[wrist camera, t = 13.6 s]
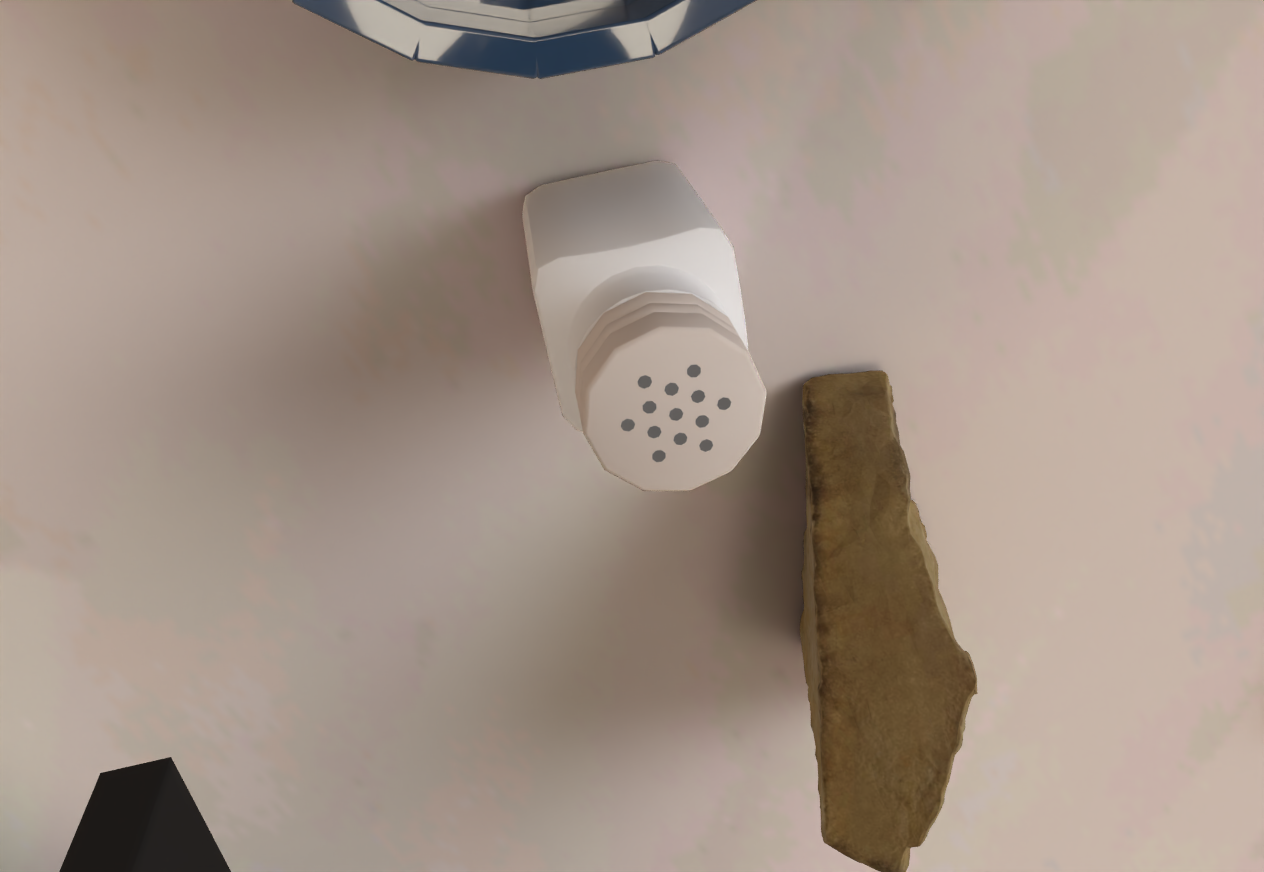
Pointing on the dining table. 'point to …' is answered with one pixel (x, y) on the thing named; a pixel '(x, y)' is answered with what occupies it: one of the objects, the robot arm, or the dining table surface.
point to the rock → (874, 630)
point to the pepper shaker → (644, 324)
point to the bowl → (526, 30)
